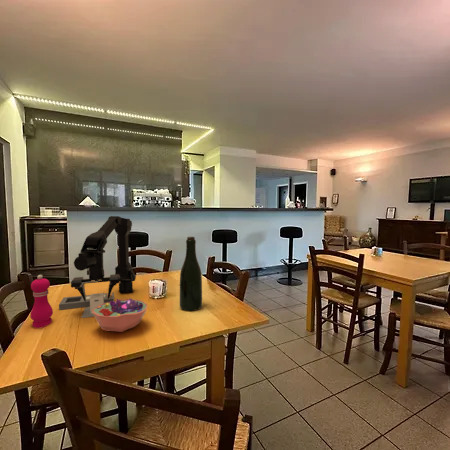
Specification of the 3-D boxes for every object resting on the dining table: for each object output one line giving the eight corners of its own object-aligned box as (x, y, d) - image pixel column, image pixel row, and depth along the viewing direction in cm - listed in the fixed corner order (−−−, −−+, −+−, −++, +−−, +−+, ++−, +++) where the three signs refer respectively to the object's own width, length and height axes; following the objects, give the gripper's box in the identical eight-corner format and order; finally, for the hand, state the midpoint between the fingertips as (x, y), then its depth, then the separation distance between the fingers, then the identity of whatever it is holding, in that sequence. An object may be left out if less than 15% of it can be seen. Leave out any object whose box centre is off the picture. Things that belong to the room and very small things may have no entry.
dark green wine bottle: (174, 307, 121) (174, 236, 118) (192, 301, 129) (192, 234, 126) (189, 313, 114) (189, 239, 111) (206, 307, 122) (207, 236, 119)
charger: (104, 307, 118) (103, 292, 117) (103, 312, 113) (102, 296, 113) (91, 309, 116) (91, 294, 116) (90, 313, 111) (89, 297, 111)
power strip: (114, 299, 131) (113, 290, 131) (113, 305, 123) (113, 297, 123) (63, 304, 124) (63, 295, 123) (59, 312, 115) (58, 302, 115)
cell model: (103, 318, 108) (102, 292, 107) (152, 317, 110) (151, 291, 109) (84, 340, 92) (83, 309, 91) (142, 338, 93) (141, 308, 92)
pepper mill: (57, 322, 105) (55, 273, 103) (39, 330, 98) (37, 278, 96) (44, 319, 107) (42, 271, 105) (26, 327, 100) (23, 276, 99)
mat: (111, 305, 122) (111, 304, 122) (110, 315, 112) (110, 313, 112) (85, 308, 118) (85, 307, 118) (81, 319, 108) (81, 317, 108)
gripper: (119, 259, 124) (120, 291, 125) (74, 262, 117) (76, 295, 119) (119, 264, 113) (119, 299, 115) (69, 268, 107) (71, 305, 108)
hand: (97, 299), depth 114 cm, fingers open, 9 cm apart
